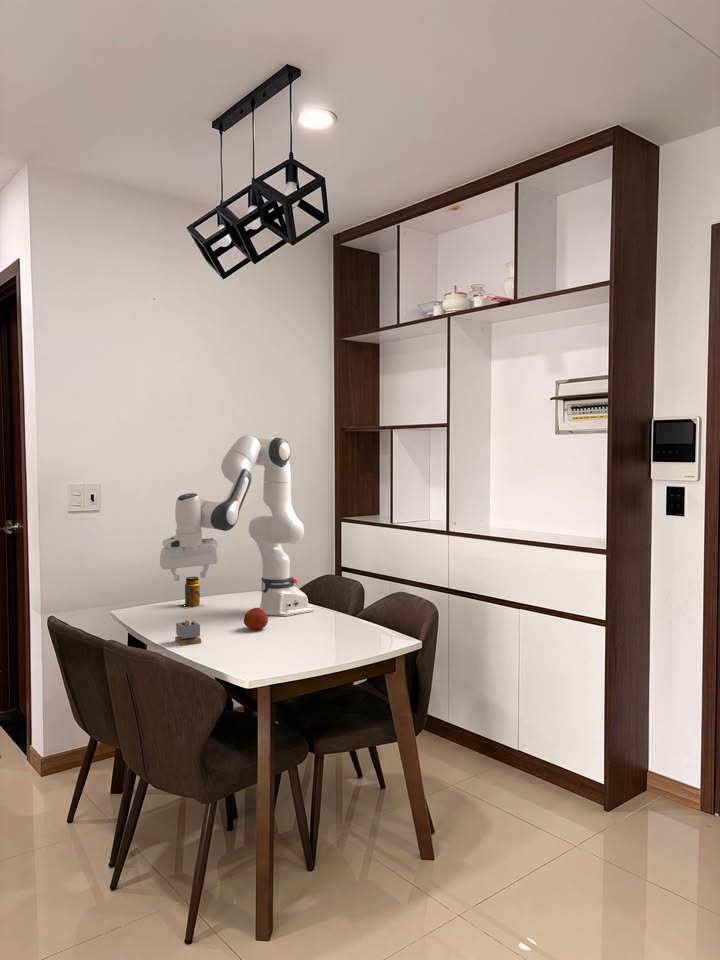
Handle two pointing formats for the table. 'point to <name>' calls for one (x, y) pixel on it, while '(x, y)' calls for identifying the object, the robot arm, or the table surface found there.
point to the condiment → (192, 593)
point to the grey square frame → (188, 630)
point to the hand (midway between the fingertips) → (190, 579)
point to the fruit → (256, 619)
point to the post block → (187, 640)
